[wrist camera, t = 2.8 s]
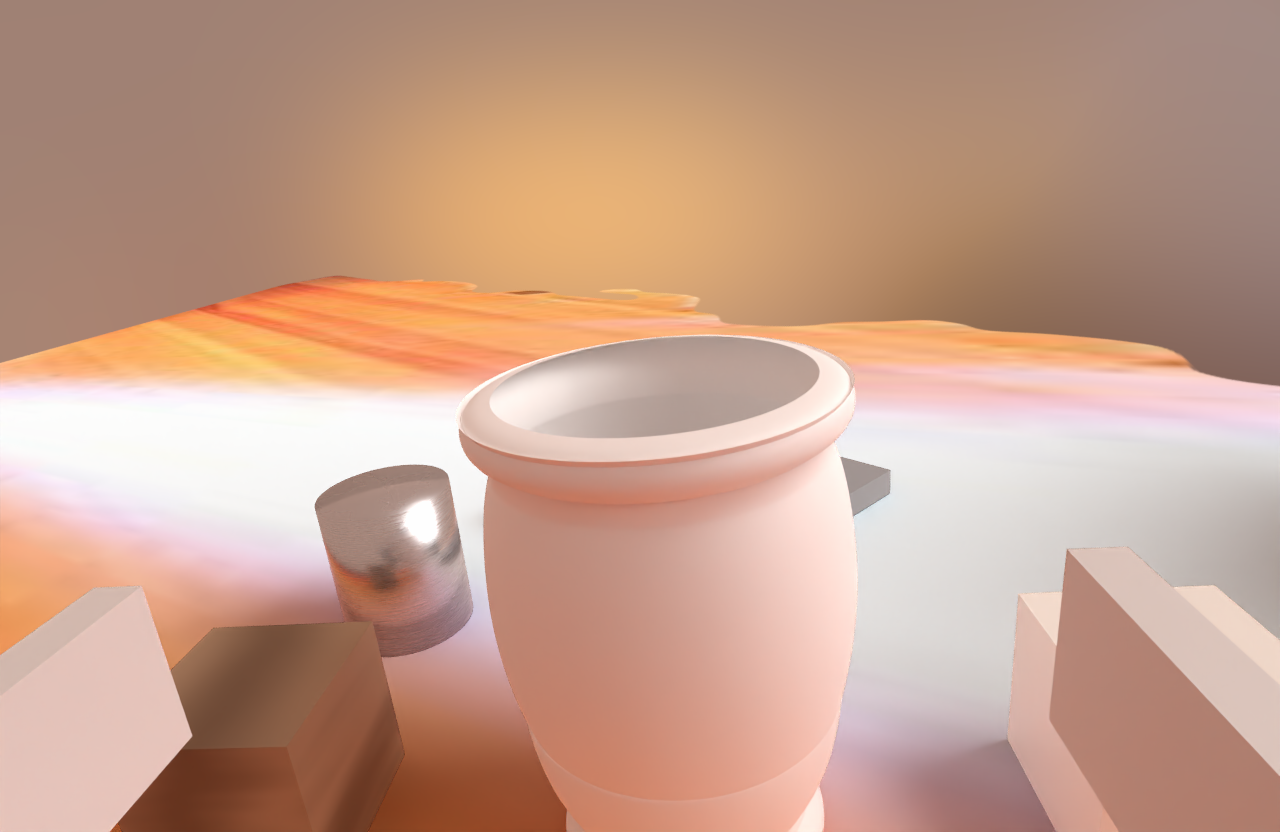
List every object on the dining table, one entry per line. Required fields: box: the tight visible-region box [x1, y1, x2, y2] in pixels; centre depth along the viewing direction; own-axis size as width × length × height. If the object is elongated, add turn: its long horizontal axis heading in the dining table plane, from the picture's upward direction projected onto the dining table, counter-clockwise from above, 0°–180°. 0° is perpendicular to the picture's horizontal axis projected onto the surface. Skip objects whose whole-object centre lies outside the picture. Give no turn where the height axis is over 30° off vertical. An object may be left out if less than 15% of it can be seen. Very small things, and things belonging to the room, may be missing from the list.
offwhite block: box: [1007, 585, 1280, 832], centre depth 23 cm, size 6×6×6 cm
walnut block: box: [118, 621, 405, 832], centre depth 25 cm, size 6×6×6 cm
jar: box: [456, 335, 858, 832], centre depth 22 cm, size 11×10×15 cm
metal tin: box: [315, 465, 473, 657], centre depth 36 cm, size 6×6×7 cm
